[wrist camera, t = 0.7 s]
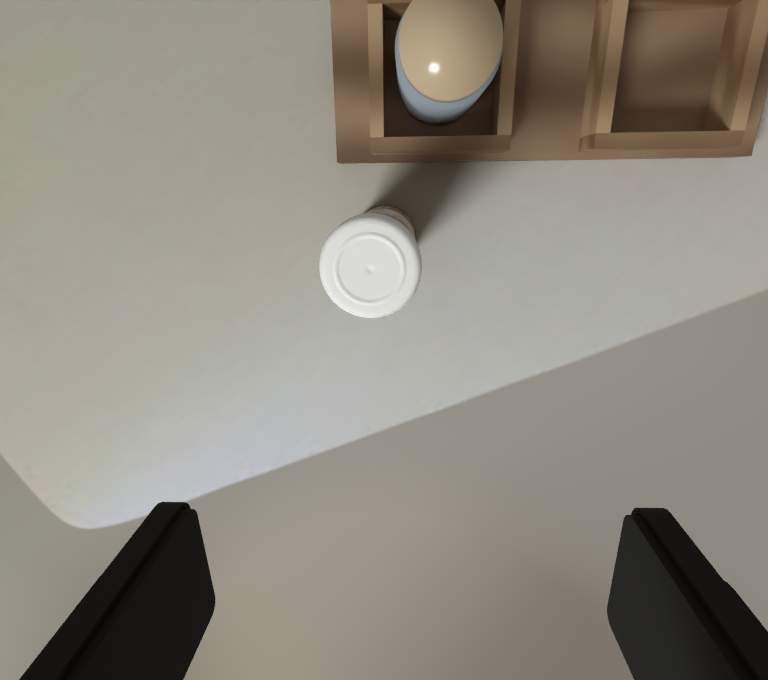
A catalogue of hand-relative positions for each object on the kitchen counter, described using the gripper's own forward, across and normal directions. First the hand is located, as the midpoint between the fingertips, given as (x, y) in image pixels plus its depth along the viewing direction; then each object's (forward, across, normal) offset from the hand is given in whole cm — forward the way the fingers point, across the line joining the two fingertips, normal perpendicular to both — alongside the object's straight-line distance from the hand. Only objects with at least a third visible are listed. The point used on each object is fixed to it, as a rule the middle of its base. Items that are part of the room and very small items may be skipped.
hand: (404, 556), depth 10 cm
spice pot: (+24, -2, -13) cm, 27 cm away
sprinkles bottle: (+25, +2, -4) cm, 25 cm away
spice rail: (+25, -8, -13) cm, 30 cm away
